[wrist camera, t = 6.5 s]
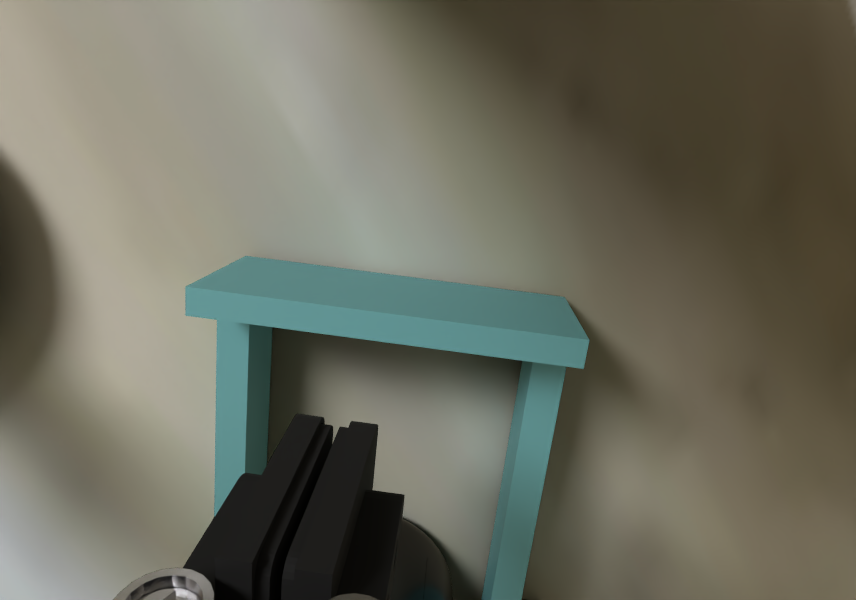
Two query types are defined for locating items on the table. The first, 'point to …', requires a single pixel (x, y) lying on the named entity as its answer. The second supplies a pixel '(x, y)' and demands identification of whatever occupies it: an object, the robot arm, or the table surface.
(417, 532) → the supplement bottle
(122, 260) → the table surface
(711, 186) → the table surface
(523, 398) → the teal drawer
